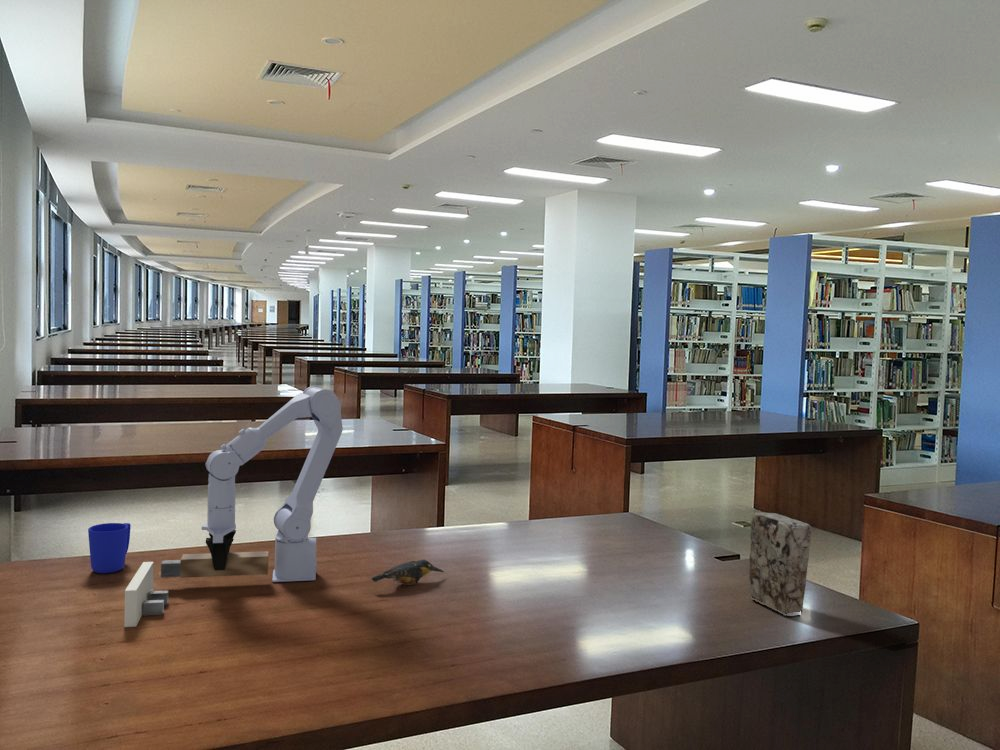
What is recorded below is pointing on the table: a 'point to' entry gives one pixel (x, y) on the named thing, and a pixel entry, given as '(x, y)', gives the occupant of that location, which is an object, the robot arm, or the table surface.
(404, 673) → the table surface
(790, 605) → the stone block
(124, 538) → the mug
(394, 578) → the bird model
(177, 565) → the walnut rail
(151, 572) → the post
